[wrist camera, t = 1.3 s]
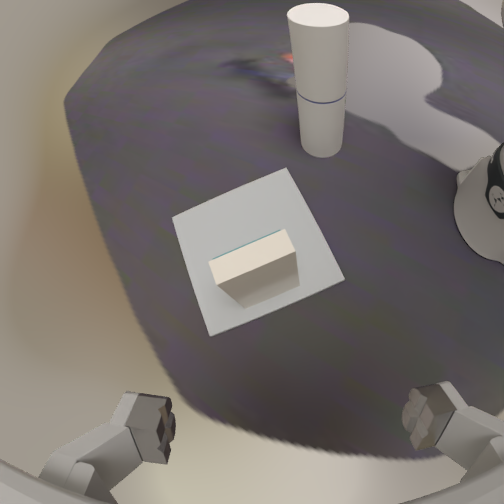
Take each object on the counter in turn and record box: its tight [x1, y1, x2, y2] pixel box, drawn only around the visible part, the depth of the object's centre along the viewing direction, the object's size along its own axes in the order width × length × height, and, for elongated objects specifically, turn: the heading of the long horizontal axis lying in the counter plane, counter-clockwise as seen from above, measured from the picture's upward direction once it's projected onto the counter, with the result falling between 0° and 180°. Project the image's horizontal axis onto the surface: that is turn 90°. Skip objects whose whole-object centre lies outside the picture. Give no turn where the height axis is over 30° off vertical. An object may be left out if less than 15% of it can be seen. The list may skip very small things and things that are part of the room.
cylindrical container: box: [287, 3, 349, 158], centre depth 38 cm, size 7×7×25 cm
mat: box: [172, 168, 345, 337], centre depth 45 cm, size 20×20×1 cm
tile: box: [209, 229, 300, 309], centre depth 36 cm, size 8×3×14 cm, turn 112°
